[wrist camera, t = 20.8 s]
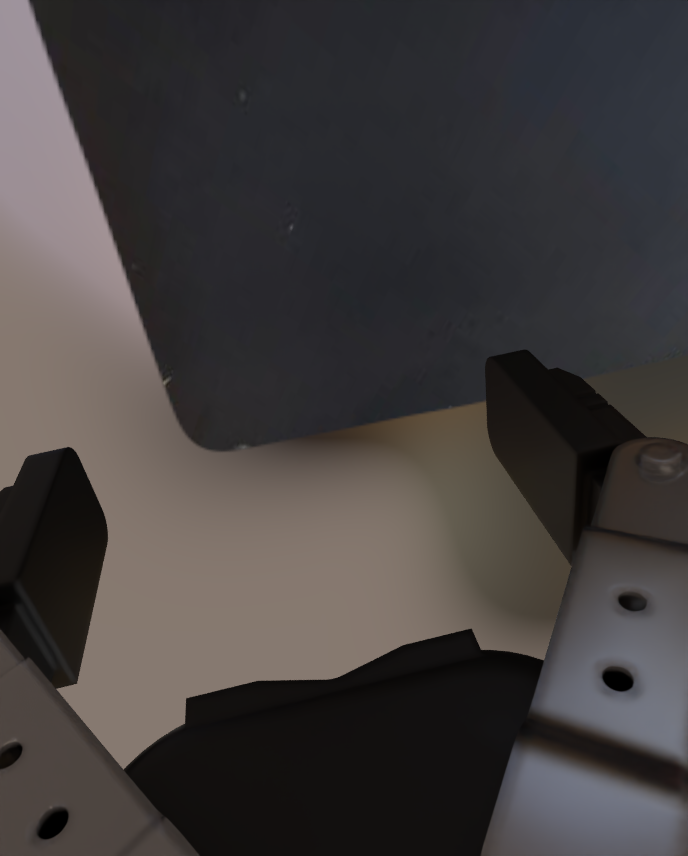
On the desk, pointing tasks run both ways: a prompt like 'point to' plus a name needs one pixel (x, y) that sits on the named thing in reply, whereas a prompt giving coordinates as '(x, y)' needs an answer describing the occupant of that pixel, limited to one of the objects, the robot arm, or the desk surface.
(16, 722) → the robot arm
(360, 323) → the desk surface
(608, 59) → the desk surface
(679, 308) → the desk surface
